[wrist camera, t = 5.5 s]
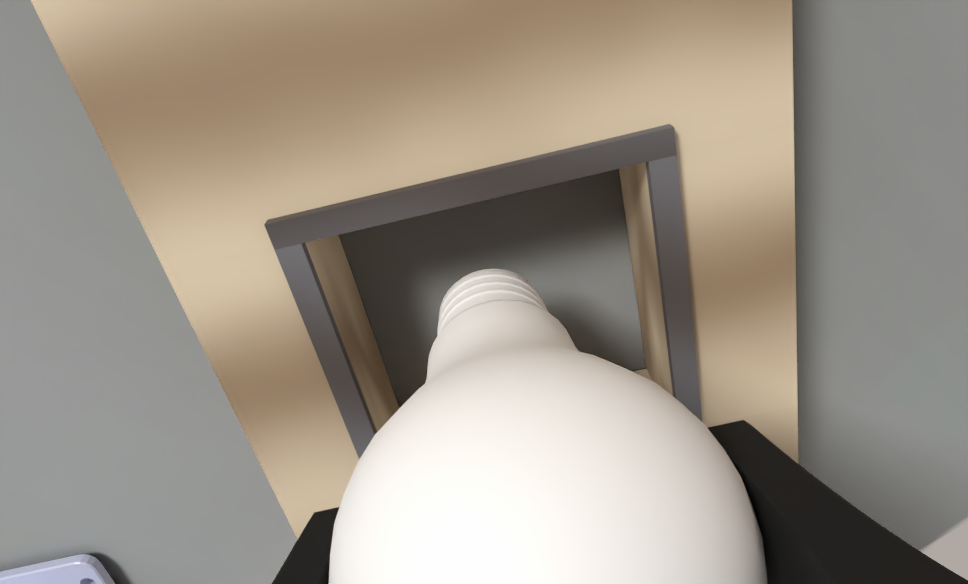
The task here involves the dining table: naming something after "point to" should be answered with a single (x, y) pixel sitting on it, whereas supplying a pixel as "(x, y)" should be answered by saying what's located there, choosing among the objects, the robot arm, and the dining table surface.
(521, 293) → the lightbulb
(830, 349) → the dining table surface
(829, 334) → the dining table surface
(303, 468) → the socket plate
